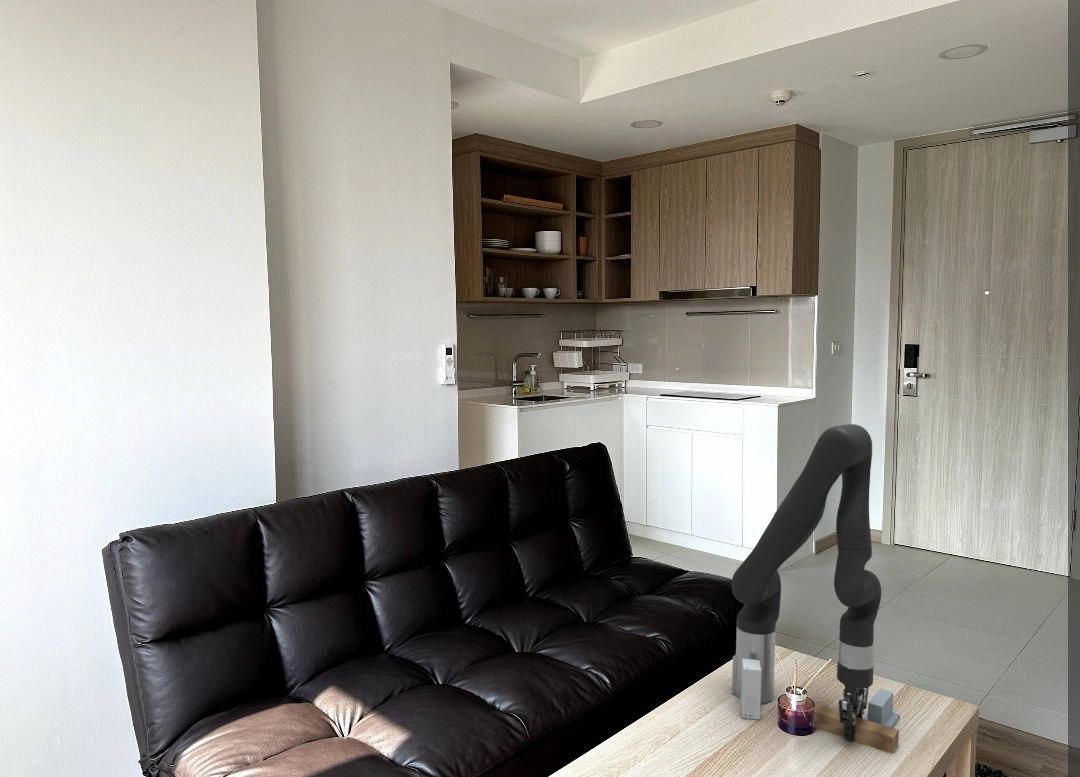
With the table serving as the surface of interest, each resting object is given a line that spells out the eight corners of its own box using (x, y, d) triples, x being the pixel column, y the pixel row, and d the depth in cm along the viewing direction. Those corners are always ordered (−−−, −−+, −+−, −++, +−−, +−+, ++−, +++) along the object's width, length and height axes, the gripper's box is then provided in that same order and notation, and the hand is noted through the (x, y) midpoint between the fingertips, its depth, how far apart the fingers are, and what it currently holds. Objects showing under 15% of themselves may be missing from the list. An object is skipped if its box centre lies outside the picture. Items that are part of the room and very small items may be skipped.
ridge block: (859, 726, 177) (860, 701, 177) (873, 710, 185) (873, 685, 184) (887, 735, 173) (888, 709, 173) (899, 718, 181) (900, 693, 181)
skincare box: (760, 720, 180) (761, 670, 179) (741, 718, 181) (742, 668, 180) (758, 707, 186) (759, 659, 185) (740, 706, 187) (741, 657, 186)
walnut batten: (809, 727, 177) (810, 710, 177) (816, 720, 181) (816, 704, 180) (892, 755, 166) (893, 737, 166) (898, 747, 169) (898, 730, 169)
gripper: (848, 646, 180) (846, 717, 181) (827, 666, 169) (824, 742, 170) (882, 654, 175) (879, 727, 176) (862, 676, 164) (860, 754, 165)
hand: (852, 734), depth 173 cm, fingers open, 4 cm apart
